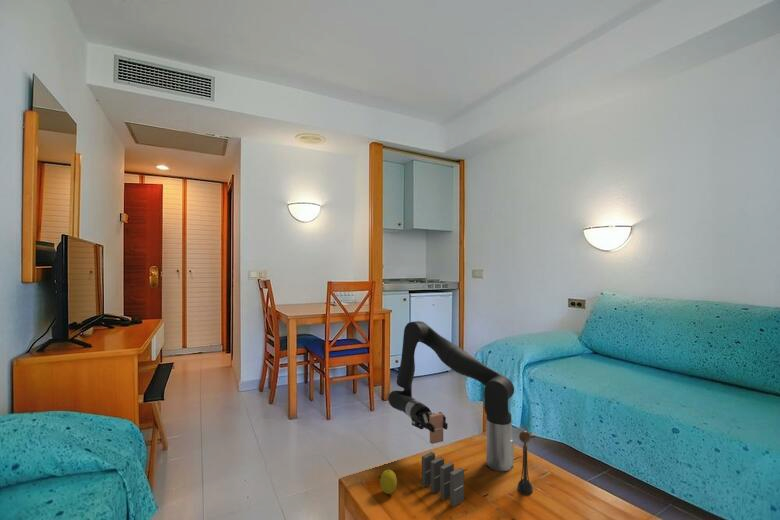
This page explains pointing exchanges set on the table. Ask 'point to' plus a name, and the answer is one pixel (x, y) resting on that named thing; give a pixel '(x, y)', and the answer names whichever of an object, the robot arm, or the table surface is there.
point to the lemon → (388, 481)
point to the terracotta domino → (436, 428)
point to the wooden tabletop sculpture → (525, 465)
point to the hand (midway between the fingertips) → (440, 428)
